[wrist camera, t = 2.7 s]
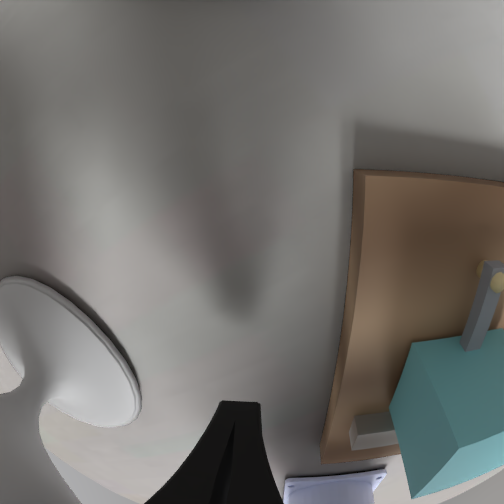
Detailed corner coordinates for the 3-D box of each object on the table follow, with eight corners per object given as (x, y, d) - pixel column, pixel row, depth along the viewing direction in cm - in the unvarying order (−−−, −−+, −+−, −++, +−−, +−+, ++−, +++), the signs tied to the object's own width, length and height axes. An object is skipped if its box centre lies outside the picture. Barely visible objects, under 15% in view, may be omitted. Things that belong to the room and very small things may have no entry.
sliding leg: (472, 390, 11) (506, 463, 6) (388, 407, 11) (411, 499, 7) (525, 254, 8) (603, 320, 3) (432, 257, 8) (519, 355, 4)
